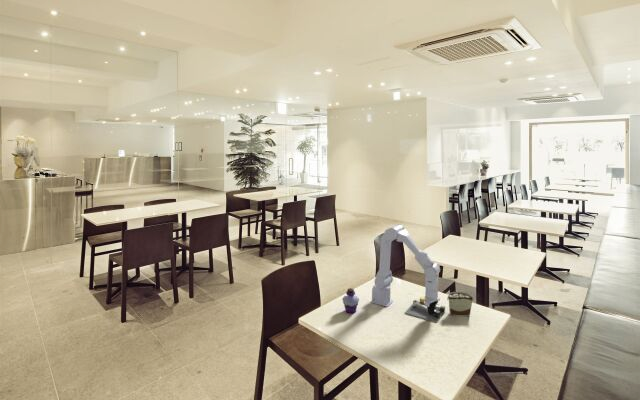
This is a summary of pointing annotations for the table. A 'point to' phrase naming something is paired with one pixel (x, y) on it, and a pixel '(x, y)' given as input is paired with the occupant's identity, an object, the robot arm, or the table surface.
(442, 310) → the tongs fixed
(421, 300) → the collar
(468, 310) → the food container
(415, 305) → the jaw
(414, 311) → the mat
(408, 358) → the table surface
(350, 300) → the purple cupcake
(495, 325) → the table surface
